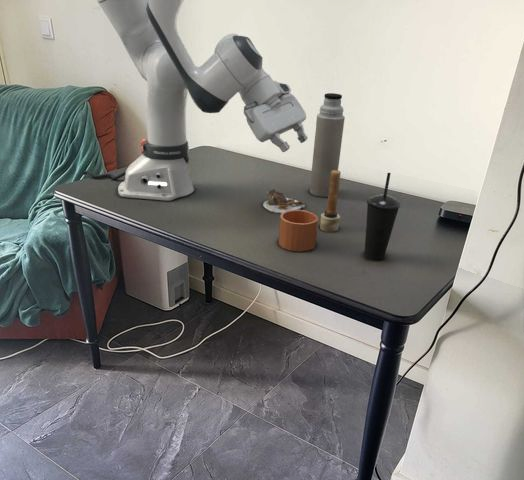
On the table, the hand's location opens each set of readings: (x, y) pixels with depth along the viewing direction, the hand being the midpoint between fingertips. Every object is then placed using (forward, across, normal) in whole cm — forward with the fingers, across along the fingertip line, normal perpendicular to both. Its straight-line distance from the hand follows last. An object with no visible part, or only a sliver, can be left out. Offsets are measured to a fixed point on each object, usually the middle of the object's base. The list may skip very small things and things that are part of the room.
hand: (296, 145), depth 131 cm
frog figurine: (+9, +6, +19) cm, 22 cm away
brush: (+22, 0, +6) cm, 23 cm away
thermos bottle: (+12, +24, +17) cm, 32 cm away
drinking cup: (+34, -9, -6) cm, 35 cm away
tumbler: (+20, -14, +7) cm, 25 cm away
